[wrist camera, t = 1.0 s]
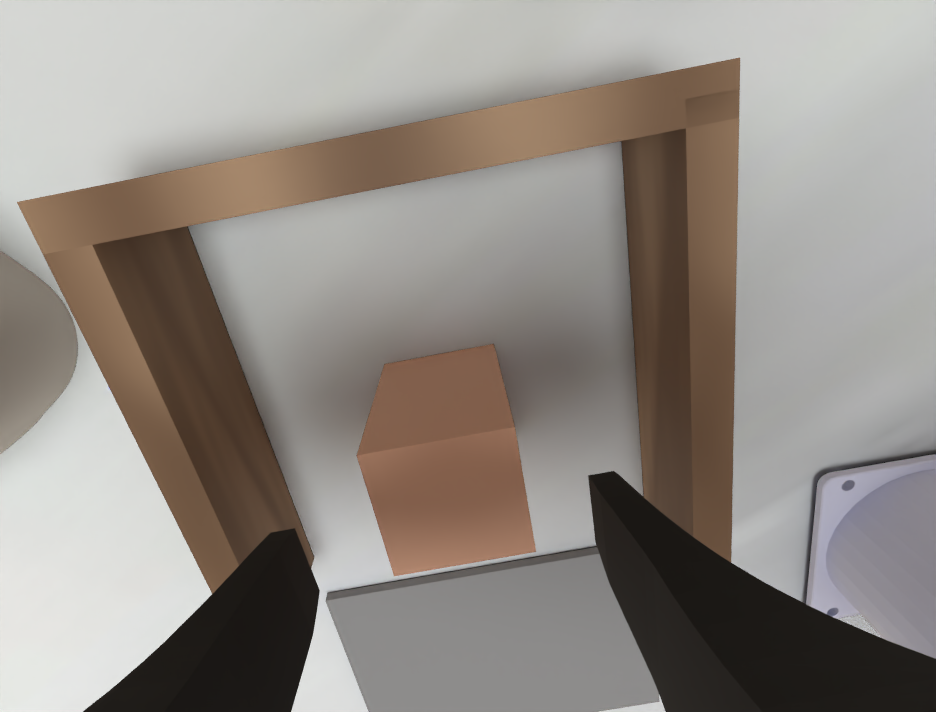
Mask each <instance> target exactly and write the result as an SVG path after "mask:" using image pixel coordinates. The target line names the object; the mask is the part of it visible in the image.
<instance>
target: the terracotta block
mask: <svg viewBox="0 0 936 712" xmlns="http://www.w3.org/2000/svg"><path fill="white" fill-rule="evenodd" d="M357 458H358V462H359V465H360V468H361V471H362V474H363V478H364V481H365V484H366V487H367V490H368V494H369V497H370V500H371V503H372V506H373V510H374V513H375V516H376V519H377V523H378V526H379V529H380V532H381V535H382V539H383V542H384V545H385V548H386V551H387V555H388V558H389V561H390V564H391V567H392V571H393V574H394V576H398V575H404V574H410V573H415V572H421V571H427V570H433V569H439V568H444V567H450V566H456V565H462V564H468V563H473V562H479V561H485V560H491V559H497V558H502V557H508V556H514V555H520V554H526V553H531V552H536V549H535V543H534V537H533V531H532V525H531V519H530V513H529V508H528V502H527V496H526V490H525V484H524V478H523V472H522V466H521V460H520V454H519V448H518V443H517V437H516V431H515V426H514V422H513V418H512V414H511V410H510V406H509V402H508V398H507V394H506V390H505V386H504V382H503V378H502V375H501V371H500V367H499V363H498V359H497V355H496V351H495V347H494V344H490V345H485V346H480V347H474V348H469V349H464V350H458V351H453V352H447V353H442V354H437V355H431V356H426V357H420V358H415V359H410V360H404V361H399V362H394V363H388V364H384V368H383V371H382V374H381V377H380V381H379V384H378V387H377V391H376V394H375V397H374V400H373V404H372V407H371V410H370V413H369V417H368V420H367V423H366V427H365V430H364V433H363V436H362V440H361V443H360V446H359V449H358V453H357Z"/></svg>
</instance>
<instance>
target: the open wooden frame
mask: <svg viewBox="0 0 936 712" xmlns="http://www.w3.org/2000/svg"><path fill="white" fill-rule="evenodd" d="M739 90H740V58H736V59H731V60H726V61H721V62H716V63H711V64H706V65H701V66H696V67H691V68H686V69H681V70H676V71H671V72H666V73H661V74H656V75H651V76H646V77H641V78H636V79H631V80H626V81H621V82H616V83H611V84H606V85H601V86H596V87H591V88H586V89H581V90H576V91H571V92H566V93H561V94H556V95H551V96H546V97H541V98H536V99H531V100H526V101H521V102H516V103H511V104H506V105H501V106H496V107H491V108H486V109H481V110H476V111H471V112H466V113H461V114H456V115H451V116H446V117H441V118H436V119H431V120H426V121H421V122H416V123H411V124H406V125H401V126H396V127H391V128H386V129H381V130H376V131H371V132H366V133H361V134H356V135H351V136H346V137H341V138H336V139H331V140H326V141H321V142H316V143H311V144H306V145H301V146H295V147H290V148H285V149H280V150H275V151H270V152H265V153H260V154H255V155H250V156H245V157H240V158H235V159H230V160H225V161H220V162H215V163H210V164H205V165H200V166H195V167H190V168H185V169H180V170H175V171H170V172H165V173H160V174H155V175H150V176H145V177H140V178H135V179H130V180H125V181H120V182H115V183H110V184H105V185H100V186H95V187H90V188H85V189H80V190H75V191H70V192H65V193H60V194H55V195H50V196H45V197H40V198H35V199H30V200H25V201H20V202H17V203H18V205H19V207H20V209H21V211H22V213H23V215H24V217H25V219H26V221H27V223H28V225H29V227H30V229H31V231H32V233H33V235H34V237H35V239H36V241H37V243H38V245H39V247H40V249H41V251H42V253H43V255H44V257H45V259H46V261H47V263H48V265H49V267H50V269H51V271H52V273H53V275H54V277H55V279H56V281H57V283H58V285H59V287H60V290H61V292H62V294H63V296H64V298H65V300H66V302H67V304H68V306H69V308H70V310H71V312H72V314H73V316H74V318H75V320H76V322H77V324H78V326H79V328H80V330H81V332H82V334H83V336H84V338H85V340H86V342H87V344H88V346H89V348H90V350H91V352H92V354H93V356H94V358H95V360H96V362H97V364H98V366H99V368H100V370H101V372H102V374H103V376H104V378H105V380H106V382H107V384H108V386H109V388H110V390H111V392H112V394H113V396H114V398H115V400H116V402H117V404H118V406H119V408H120V410H121V412H122V414H123V416H124V418H125V420H126V422H127V424H128V426H129V428H130V430H131V432H132V434H133V436H134V438H135V440H136V442H137V444H138V446H139V448H140V450H141V452H142V454H143V456H144V458H145V460H146V462H147V464H148V466H149V468H150V470H151V472H152V474H153V476H154V478H155V480H156V482H157V484H158V486H159V488H160V490H161V492H162V494H163V496H164V498H165V500H166V502H167V504H168V506H169V508H170V510H171V512H172V514H173V516H174V518H175V520H176V522H177V524H178V526H179V528H180V530H181V532H182V534H183V536H184V538H185V540H186V542H187V544H188V546H189V548H190V550H191V552H192V554H193V556H194V558H195V560H196V562H197V564H198V566H199V568H200V570H201V572H202V574H203V576H204V578H205V580H206V582H207V584H208V586H209V588H210V590H211V592H212V594H213V593H214V592H215V591H216V590H217V589H218V588H219V587H220V585H221V584H222V583H223V582H224V581H225V580H226V579H227V578H228V577H229V576H230V575H231V574H232V573H233V572H234V571H235V569H236V568H237V567H238V566H239V565H240V564H241V563H242V562H243V561H244V560H245V559H246V558H247V556H248V555H249V554H250V553H251V552H252V551H253V550H254V549H255V548H256V547H257V546H258V545H259V544H260V543H261V542H262V541H263V540H264V539H265V538H266V537H267V536H268V535H269V534H270V533H271V532H277V531H282V530H288V529H293V528H295V529H296V532H297V535H298V537H299V540H300V542H301V545H302V547H303V550H304V552H305V555H306V557H307V560H308V563H309V565H310V568H311V566H312V563H313V560H314V556H313V554H312V551H311V548H310V546H309V543H308V541H307V538H306V535H305V533H304V530H303V528H302V525H301V522H300V520H299V517H298V515H297V512H296V509H295V507H294V504H293V502H292V499H291V496H290V494H289V491H288V489H287V486H286V483H285V481H284V478H283V475H282V473H281V470H280V468H279V465H278V462H277V460H276V457H275V455H274V452H273V449H272V447H271V444H270V442H269V439H268V436H267V434H266V431H265V429H264V426H263V423H262V421H261V418H260V416H259V413H258V410H257V408H256V405H255V402H254V400H253V397H252V395H251V392H250V389H249V387H248V384H247V382H246V379H245V376H244V374H243V371H242V369H241V366H240V363H239V361H238V358H237V356H236V353H235V350H234V348H233V345H232V343H231V340H230V337H229V335H228V332H227V330H226V327H225V324H224V322H223V319H222V316H221V314H220V311H219V309H218V306H217V303H216V301H215V298H214V296H213V293H212V290H211V288H210V285H209V283H208V280H207V277H206V275H205V272H204V270H203V267H202V264H201V262H200V259H199V257H198V254H197V251H196V249H195V246H194V244H193V241H192V238H191V236H190V233H189V230H188V228H187V226H191V225H196V224H201V223H206V222H211V221H216V220H221V219H226V218H231V217H236V216H242V215H247V214H252V213H257V212H262V211H267V210H272V209H277V208H282V207H287V206H293V205H298V204H303V203H308V202H313V201H318V200H323V199H328V198H333V197H338V196H343V195H349V194H354V193H359V192H364V191H369V190H374V189H379V188H384V187H389V186H394V185H400V184H405V183H410V182H415V181H420V180H425V179H430V178H435V177H440V176H445V175H450V174H456V173H461V172H466V171H471V170H476V169H481V168H486V167H491V166H496V165H501V164H506V163H512V162H517V161H522V160H527V159H532V158H537V157H542V156H547V155H552V154H557V153H563V152H568V151H573V150H578V149H583V148H588V147H593V146H598V145H603V144H608V143H613V142H619V141H622V156H623V172H624V188H625V204H626V220H627V236H628V252H629V268H630V284H631V300H632V316H633V332H634V348H635V364H636V380H637V396H638V412H639V428H640V444H641V460H642V476H643V492H644V498H645V499H646V500H648V501H649V502H650V503H651V504H652V505H653V506H655V507H656V508H657V509H658V510H659V511H661V512H662V513H663V514H664V515H666V516H667V517H668V518H669V519H671V520H672V521H673V522H674V523H676V524H677V525H678V526H680V527H681V528H682V529H683V530H685V531H686V532H687V533H689V534H690V535H691V536H693V537H694V538H696V539H697V540H698V541H700V542H701V543H703V544H704V545H705V546H707V547H708V548H710V549H711V550H713V551H714V552H716V553H717V554H718V555H720V556H721V557H723V558H724V559H726V560H728V561H729V562H731V539H732V483H733V427H734V371H735V315H736V259H737V203H738V146H739Z"/></svg>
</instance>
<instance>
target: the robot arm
mask: <svg viewBox="0 0 936 712" xmlns="http://www.w3.org/2000/svg"><path fill="white" fill-rule="evenodd" d="M588 477H589V486H590V495H591V504H592V513H593V522H594V531H595V541H596V545H597V548H598V551H599V554H600V557H601V560H602V563H603V566H604V569H605V572H606V575H607V578H608V581H609V584H610V586H611V588H612V590H613V593H614V595H615V597H616V599H617V601H618V604H619V606H620V608H621V610H622V612H623V615H624V617H625V619H626V621H627V623H628V625H629V628H630V630H631V632H632V634H633V636H634V638H635V641H636V643H637V645H638V647H639V649H640V651H641V654H642V656H643V658H644V660H645V662H646V664H647V667H648V669H649V671H650V673H651V675H652V678H653V680H654V683H655V685H656V687H657V690H658V692H659V695H660V697H661V700H662V703H663V705H664V708H665V711H666V712H936V454H933V455H927V456H921V457H916V458H910V459H904V460H898V461H893V462H887V463H881V464H875V465H870V466H864V467H858V468H853V469H847V470H841V471H835V472H830V473H827V474H825V475H823V476H822V477H821V478H820V479H819V481H818V484H817V493H816V503H815V514H814V524H813V535H812V546H811V556H810V567H809V578H808V588H807V599H806V604H804V603H803V602H801V601H799V600H797V599H795V598H793V597H791V596H789V595H787V594H785V593H783V592H781V591H779V590H777V589H775V588H773V587H772V586H770V585H768V584H766V583H764V582H763V581H761V580H759V579H757V578H756V577H754V576H752V575H751V574H749V573H747V572H746V571H744V570H742V569H741V568H739V567H737V566H736V565H734V564H732V563H731V562H729V561H728V560H726V559H724V558H723V557H721V556H720V555H718V554H717V553H716V552H714V551H713V550H711V549H710V548H708V547H707V546H705V545H704V544H703V543H701V542H700V541H698V540H697V539H696V538H694V537H693V536H691V535H690V534H689V533H687V532H686V531H685V530H683V529H682V528H681V527H680V526H678V525H677V524H676V523H674V522H673V521H672V520H671V519H669V518H668V517H667V516H666V515H664V514H663V513H662V512H661V511H659V510H658V509H657V508H656V507H655V506H653V505H652V504H651V503H650V502H649V501H648V500H646V499H645V498H644V497H643V496H642V495H641V494H639V493H638V492H637V491H636V490H635V489H634V488H633V487H632V486H631V485H629V484H628V483H627V482H626V481H625V480H624V479H623V478H622V477H621V476H620V475H619V474H617V473H616V472H614V471H611V472H606V473H600V474H595V475H589V476H588ZM845 481H846V482H845ZM844 482H845V483H844ZM843 483H844V484H843ZM318 598H319V588H318V585H317V583H316V580H315V578H314V575H313V573H312V570H311V568H310V565H309V563H308V560H307V557H306V555H305V552H304V550H303V547H302V545H301V542H300V540H299V537H298V535H297V532H296V529H295V528H293V529H288V530H282V531H277V532H271V533H270V534H269V535H268V536H267V537H266V538H265V539H264V540H263V541H262V542H261V543H260V544H259V545H258V546H257V547H256V548H255V549H254V550H253V551H252V552H251V553H250V554H249V555H248V556H247V558H246V559H245V560H244V561H243V562H242V563H241V564H240V565H239V566H238V567H237V568H236V569H235V571H234V572H233V573H232V574H231V575H230V576H229V577H228V578H227V579H226V580H225V581H224V582H223V583H222V584H221V585H220V587H219V588H218V589H217V590H216V591H215V592H214V593H213V594H212V595H211V596H210V597H209V598H208V599H207V600H206V601H205V602H204V603H203V604H202V605H201V606H200V607H199V608H198V609H197V610H196V611H195V612H194V613H193V614H192V615H191V616H190V617H189V618H188V619H187V620H186V621H185V622H184V623H183V624H182V625H181V626H180V627H179V628H178V629H177V630H176V631H175V632H174V633H173V634H172V635H171V636H170V637H169V638H168V639H167V640H166V641H165V642H164V643H163V644H162V645H161V646H160V647H159V648H158V649H157V650H156V651H154V652H153V653H152V654H151V655H150V656H149V657H148V658H147V659H146V660H145V661H143V662H142V663H141V664H140V665H139V666H138V667H137V668H135V669H134V670H133V671H132V672H131V673H130V674H128V675H127V676H126V677H125V678H124V679H123V680H122V681H120V682H119V683H118V684H117V685H116V686H115V687H113V688H112V689H111V690H110V691H109V692H107V693H106V694H105V695H103V696H102V697H101V698H100V699H98V700H97V701H96V702H95V703H93V704H92V705H91V706H89V707H88V708H87V709H86V710H84V711H83V712H291V710H292V706H293V703H294V699H295V696H296V692H297V689H298V686H299V682H300V679H301V675H302V672H303V668H304V665H305V661H306V657H307V654H308V650H309V647H310V643H311V639H312V636H313V631H314V625H315V619H316V613H317V606H318ZM860 614H861V615H862V616H863V617H864V619H865V620H866V621H867V622H868V623H869V624H870V625H871V626H872V627H873V628H874V630H875V631H876V632H877V633H878V634H879V635H880V636H881V637H882V638H883V639H882V638H880V637H877V636H875V635H873V634H870V633H868V632H866V631H863V630H861V629H859V628H856V627H854V626H852V625H850V624H847V623H845V622H843V621H840V620H838V619H836V618H842V617H848V616H854V615H860Z"/></svg>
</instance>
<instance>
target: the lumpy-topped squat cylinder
mask: <svg viewBox="0 0 936 712" xmlns="http://www.w3.org/2000/svg"><path fill="white" fill-rule="evenodd" d="M77 356H78V342H77V334H76V330H75V326H74V323H73V320H72V317H71V315H70V313H69V311H68V309H67V308H66V306H65V304H64V303H63V302H62V300H61V299H60V298H59V296H58V295H57V294H56V293H55V292H54V291H53V290H52V289H51V288H50V287H49V286H48V285H47V284H46V283H45V282H43V281H42V280H41V279H40V278H39V277H37V276H36V275H35V274H33V273H32V272H31V271H29V270H28V269H26V268H25V267H24V266H22V265H21V264H19V263H18V262H16V261H15V260H13V259H12V258H10V257H9V256H8V255H6V254H5V253H3V252H2V251H0V454H1V453H2V452H4V451H5V450H6V449H8V448H9V447H10V446H11V445H12V444H14V443H15V442H16V441H17V440H18V439H20V438H21V437H22V436H23V435H24V434H25V433H26V432H27V431H29V430H30V429H31V428H32V427H33V426H34V425H35V424H36V423H37V422H38V420H39V419H40V418H41V417H42V416H43V414H44V413H45V412H46V411H47V410H48V409H49V407H50V406H51V405H52V404H53V403H54V402H55V401H56V400H57V399H58V398H59V396H60V395H61V394H62V393H63V391H64V390H65V388H66V387H67V385H68V384H69V382H70V380H71V378H72V376H73V373H74V370H75V367H76V363H77Z"/></svg>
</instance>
